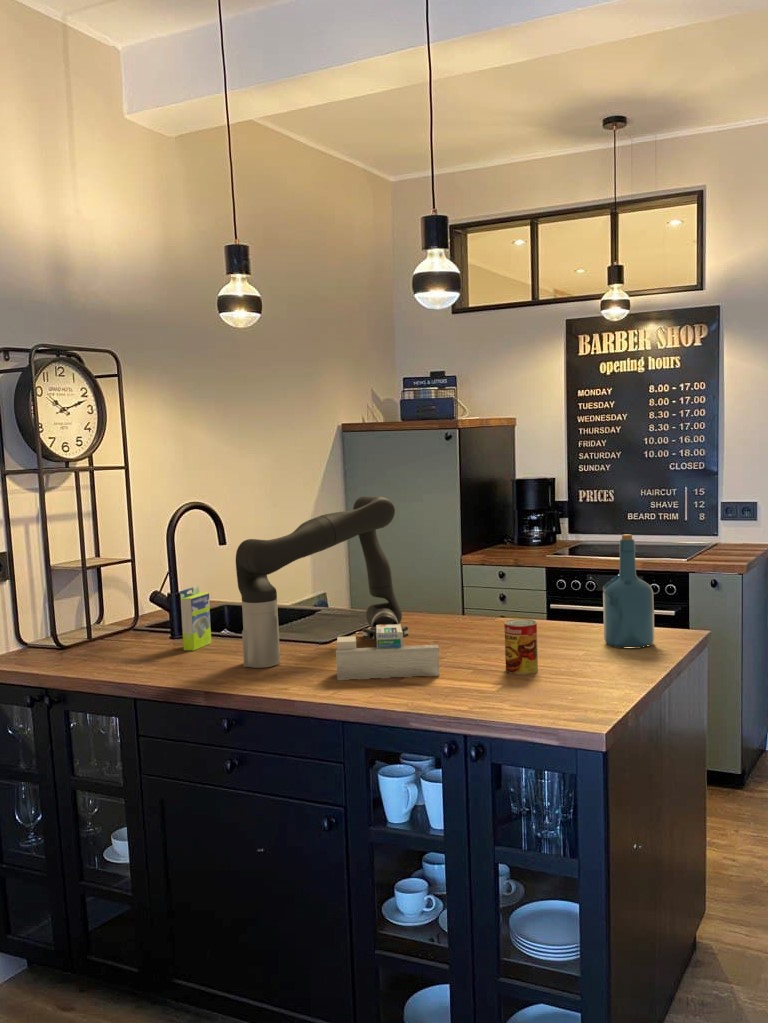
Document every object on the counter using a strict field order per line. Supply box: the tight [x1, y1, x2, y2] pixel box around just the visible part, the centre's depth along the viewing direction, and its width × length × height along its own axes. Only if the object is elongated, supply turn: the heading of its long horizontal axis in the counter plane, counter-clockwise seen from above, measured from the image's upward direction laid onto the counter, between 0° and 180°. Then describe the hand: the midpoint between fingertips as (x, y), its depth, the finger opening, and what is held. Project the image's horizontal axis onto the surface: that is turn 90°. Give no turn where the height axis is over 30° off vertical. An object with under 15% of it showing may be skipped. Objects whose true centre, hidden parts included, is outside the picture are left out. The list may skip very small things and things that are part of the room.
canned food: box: [504, 618, 539, 675], centre depth 223 cm, size 8×8×12 cm
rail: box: [335, 644, 440, 681], centre depth 224 cm, size 25×9×7 cm, turn 91°
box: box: [179, 585, 212, 651], centre depth 265 cm, size 10×4×17 cm, turn 161°
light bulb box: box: [376, 623, 405, 647], centre depth 229 cm, size 11×7×11 cm, turn 1°
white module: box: [336, 635, 357, 649], centre depth 226 cm, size 5×6×9 cm
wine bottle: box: [602, 533, 655, 648], centre depth 246 cm, size 14×13×30 cm
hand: (386, 639), depth 237 cm, fingers closed
